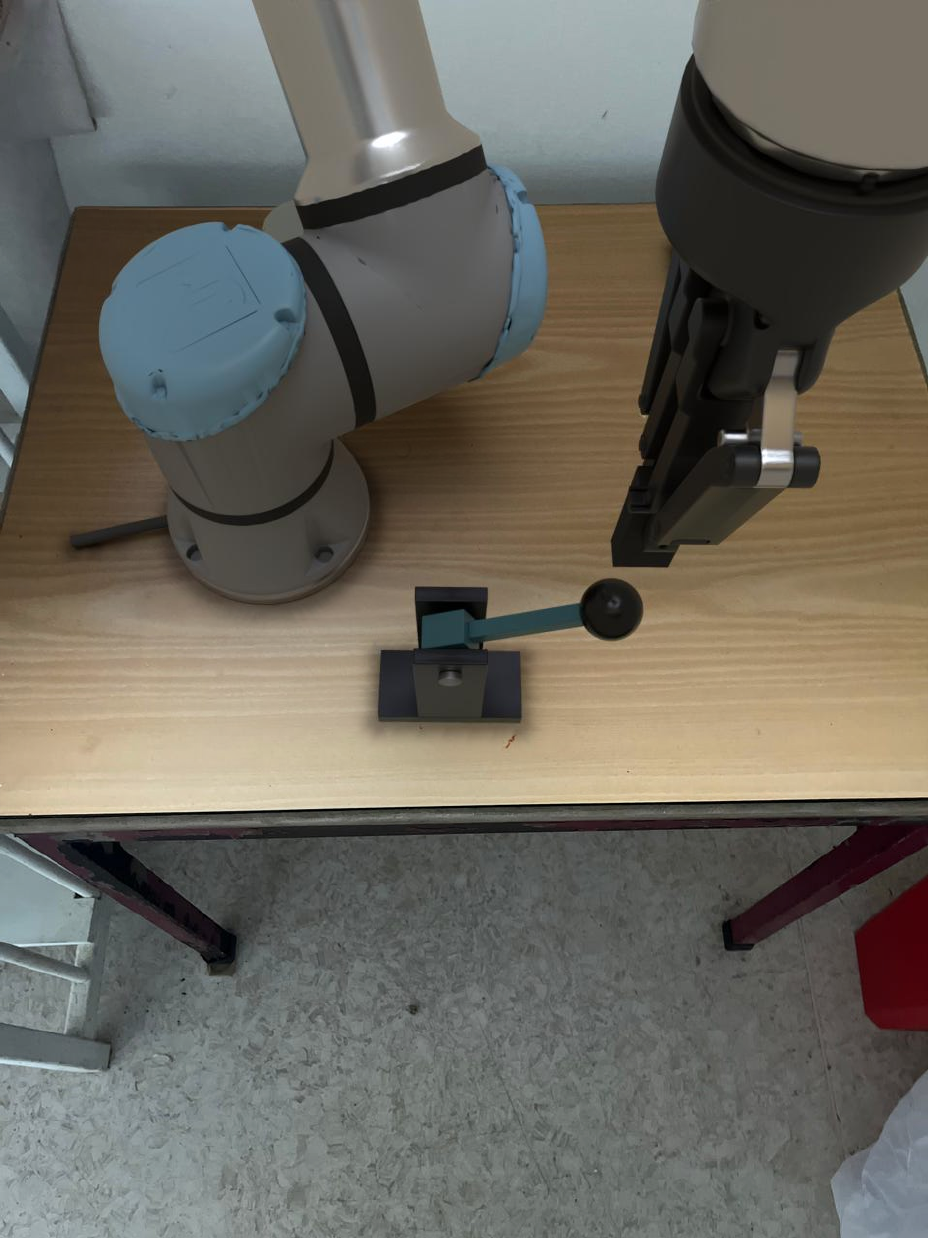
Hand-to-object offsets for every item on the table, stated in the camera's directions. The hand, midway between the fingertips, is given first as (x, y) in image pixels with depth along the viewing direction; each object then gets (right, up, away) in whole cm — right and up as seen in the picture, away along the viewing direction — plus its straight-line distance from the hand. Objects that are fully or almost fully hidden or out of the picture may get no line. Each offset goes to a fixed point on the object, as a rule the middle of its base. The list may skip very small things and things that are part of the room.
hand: (639, 553), depth 41 cm
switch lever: (-4, -4, +10) cm, 11 cm away
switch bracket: (-10, -8, +19) cm, 23 cm away
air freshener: (-21, +23, +33) cm, 46 cm away
